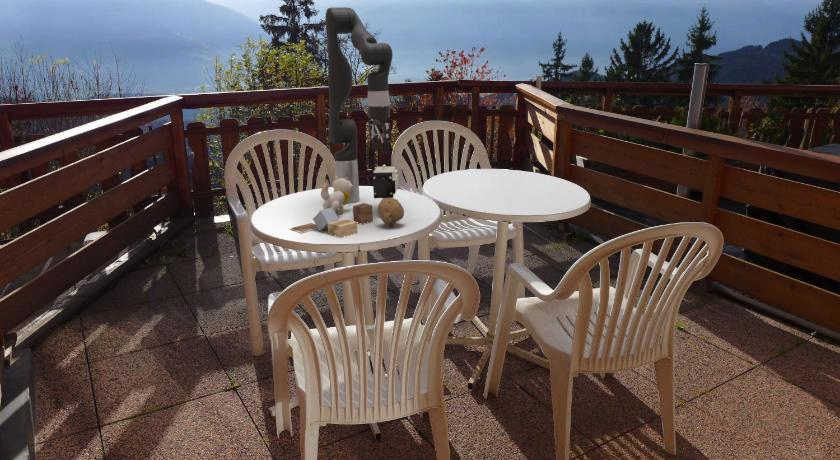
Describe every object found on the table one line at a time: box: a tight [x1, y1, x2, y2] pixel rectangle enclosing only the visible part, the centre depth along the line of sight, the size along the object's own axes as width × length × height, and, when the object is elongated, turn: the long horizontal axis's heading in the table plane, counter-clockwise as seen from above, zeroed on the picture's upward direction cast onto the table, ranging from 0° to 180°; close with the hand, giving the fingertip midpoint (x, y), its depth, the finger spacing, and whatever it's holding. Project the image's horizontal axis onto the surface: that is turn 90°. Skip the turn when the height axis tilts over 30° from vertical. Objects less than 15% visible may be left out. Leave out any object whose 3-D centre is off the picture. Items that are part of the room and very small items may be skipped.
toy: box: [320, 175, 353, 215], centre depth 214 cm, size 9×19×15 cm, turn 161°
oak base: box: [327, 218, 358, 238], centre depth 193 cm, size 7×7×4 cm
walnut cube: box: [352, 202, 374, 225], centre depth 206 cm, size 5×5×6 cm
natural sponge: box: [377, 197, 405, 227], centre depth 199 cm, size 9×9×10 cm
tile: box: [289, 222, 319, 234], centre depth 200 cm, size 7×9×1 cm
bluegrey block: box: [312, 207, 340, 232], centre depth 196 cm, size 5×5×6 cm
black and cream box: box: [372, 164, 400, 202], centre depth 218 cm, size 18×8×18 cm, turn 177°
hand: (380, 151), depth 200 cm, fingers open, 8 cm apart
